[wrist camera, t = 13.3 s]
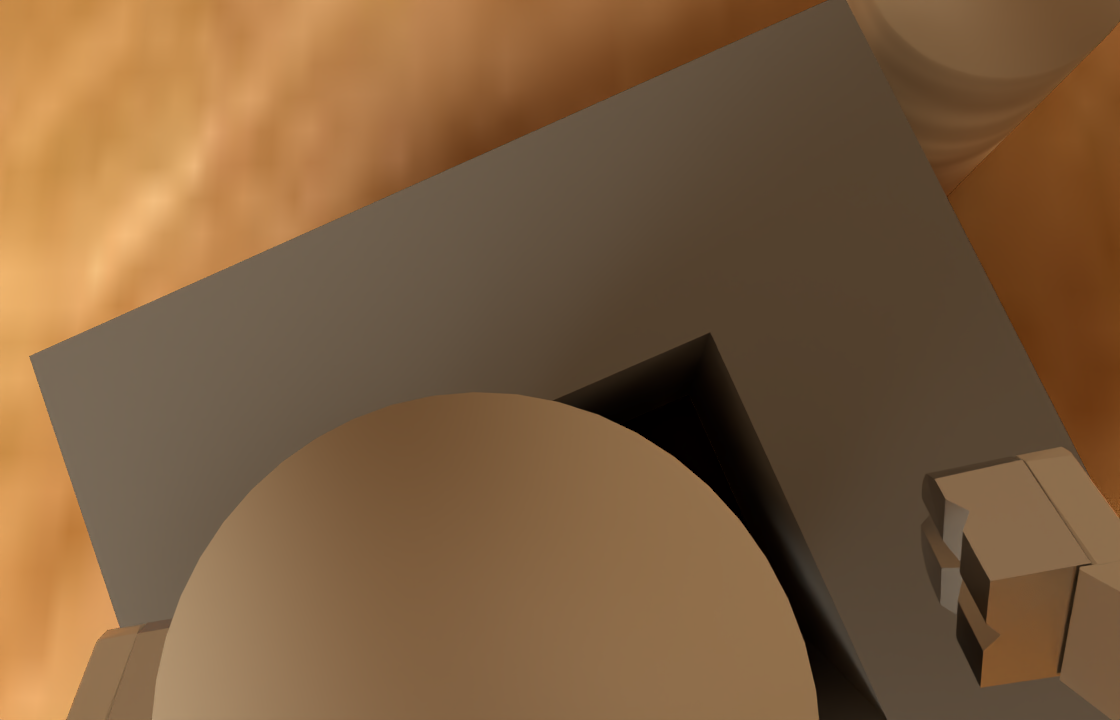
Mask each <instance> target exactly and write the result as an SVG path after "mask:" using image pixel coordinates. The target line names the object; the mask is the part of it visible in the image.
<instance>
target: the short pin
mask: <svg viewBox="0 0 1120 720" xmlns="http://www.w3.org/2000/svg"><path fill="white" fill-rule="evenodd" d="M846 1H847V3H848V5H849V7H850V9H851V11H852V13H853V14H854V16H855V18H856V20H857V22H858V24H859V26H860V28H861V30H862V32H863V34H864V36H865V38H866V40H867V42H868V44H869V46H870V48H871V50H872V52H873V54H874V56H875V58H876V59H877V61H878V63H879V65H880V67H881V69H882V71H883V73H884V75H885V77H886V79H887V81H888V83H889V85H890V87H891V89H892V91H893V93H894V95H895V97H896V99H897V101H898V103H899V104H900V106H901V108H902V110H903V112H904V114H905V116H906V118H907V120H908V122H909V124H910V126H911V128H912V130H913V132H914V134H915V136H916V138H917V140H918V142H919V144H920V146H921V148H922V149H923V151H924V153H925V155H926V157H927V159H928V161H929V163H930V165H931V167H932V169H933V171H934V173H935V175H936V177H937V179H938V181H939V183H940V185H941V187H942V189H943V191H944V193H945V194H946V196H948V195H949V194H950V193H951V192H952V191H953V190H954V189H955V188H956V187H957V186H958V185H959V184H960V183H961V182H962V181H963V180H964V179H965V178H966V177H967V176H968V175H969V174H970V173H971V172H972V171H973V170H974V169H975V168H976V167H977V166H978V165H979V164H980V163H981V162H982V161H983V160H984V159H985V158H986V157H987V156H988V155H989V154H990V153H991V152H992V151H993V150H994V149H995V148H996V147H997V146H998V145H999V144H1000V143H1001V142H1002V141H1003V140H1004V139H1005V138H1006V137H1007V136H1008V135H1009V134H1010V133H1011V132H1012V131H1013V130H1014V129H1015V128H1016V127H1017V126H1018V125H1019V124H1020V123H1021V122H1022V121H1023V120H1024V119H1025V118H1026V117H1027V116H1028V115H1029V114H1030V113H1031V112H1032V111H1033V110H1034V109H1035V108H1036V107H1037V106H1038V105H1039V104H1040V103H1041V102H1042V101H1043V100H1044V99H1045V98H1046V97H1047V96H1048V95H1049V94H1050V93H1051V92H1052V91H1053V90H1054V89H1055V88H1056V87H1057V86H1058V85H1059V84H1060V83H1061V82H1062V81H1063V80H1064V79H1065V78H1066V77H1067V75H1068V74H1069V73H1070V72H1071V71H1072V70H1073V69H1074V68H1075V67H1076V66H1077V65H1078V64H1079V63H1080V62H1081V61H1082V60H1083V59H1084V58H1085V57H1086V56H1087V55H1088V54H1089V53H1090V52H1091V51H1092V50H1093V49H1094V48H1095V47H1096V46H1097V45H1098V44H1099V43H1100V42H1101V41H1102V40H1103V39H1104V38H1105V37H1106V36H1107V35H1108V34H1109V33H1110V32H1111V31H1112V30H1113V29H1114V27H1115V26H1116V25H1117V24H1118V23H1119V21H1120V0H846Z"/></svg>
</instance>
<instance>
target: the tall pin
mask: <svg viewBox="0 0 1120 720" xmlns="http://www.w3.org/2000/svg"><path fill="white" fill-rule="evenodd" d="M152 720H819V714H818V705H817V695H816V688H815V684H814V680H813V676H812V671H811V667H810V663H809V659H808V654H807V650H806V646H805V642H804V640H803V637H802V634H801V632H800V629H799V626H798V624H797V621H796V619H795V616H794V613H793V611H792V608H791V605H790V603H789V600H788V598H787V596H786V594H785V592H784V590H783V588H782V586H781V585H780V583H779V581H778V579H777V577H776V575H775V573H774V571H773V569H772V567H771V566H770V564H769V562H768V560H767V558H766V556H765V555H764V554H763V552H762V551H761V549H760V548H759V547H758V545H757V544H756V542H755V541H754V539H753V538H752V537H751V535H750V534H749V532H748V531H747V529H746V528H745V527H744V525H743V524H742V522H741V521H740V520H739V519H738V517H737V516H736V515H735V514H734V513H733V512H732V511H731V510H730V509H729V508H728V506H727V505H726V504H725V503H724V502H723V501H722V500H721V499H720V498H719V497H718V496H717V494H716V493H715V492H714V491H713V490H712V489H711V488H710V487H709V486H708V485H707V484H706V483H705V482H703V481H702V480H701V479H700V478H699V477H697V476H696V475H695V474H694V473H693V472H692V471H690V470H689V469H688V468H687V467H686V466H684V465H683V464H682V463H681V462H680V461H679V460H677V459H676V458H675V457H674V456H672V455H670V454H669V453H667V452H666V451H664V450H663V449H661V448H660V447H658V446H656V445H655V444H653V443H652V442H650V441H649V440H647V439H646V438H644V437H643V436H641V435H639V434H638V433H636V432H634V431H632V430H630V429H627V428H625V427H623V426H621V425H619V424H617V423H615V422H613V421H610V420H608V419H606V418H604V417H602V416H600V415H598V414H594V413H591V412H588V411H585V410H582V409H579V408H576V407H573V406H569V405H566V404H563V403H560V402H557V401H551V400H546V399H540V398H534V397H529V396H523V395H518V394H502V393H480V392H471V393H459V394H448V395H436V396H429V397H425V398H420V399H416V400H411V401H407V402H402V403H398V404H393V405H390V406H387V407H385V408H382V409H379V410H376V411H374V412H371V413H368V414H366V415H363V416H360V417H357V418H355V419H352V420H350V421H348V422H346V423H345V424H343V425H341V426H339V427H337V428H335V429H333V430H331V431H329V432H327V433H325V434H323V435H321V436H320V437H318V438H316V439H314V440H313V441H312V442H310V443H309V444H307V445H306V446H304V447H303V448H302V449H300V450H299V451H297V452H296V453H294V454H293V455H291V456H290V457H289V458H287V459H286V460H284V461H283V462H282V463H281V464H279V465H278V466H277V467H276V468H275V469H274V470H273V471H272V472H271V473H269V474H268V475H267V476H266V477H265V478H264V479H263V480H262V481H261V482H260V483H258V484H257V485H256V486H255V487H254V488H253V489H252V490H251V491H250V492H249V493H248V494H247V495H246V497H245V498H244V499H243V500H242V501H241V502H240V504H239V505H238V506H237V507H236V508H235V509H234V511H233V512H232V513H231V514H230V515H229V516H228V518H227V519H226V520H225V521H224V522H223V524H222V525H221V527H220V528H219V530H218V531H217V533H216V534H215V536H214V537H213V539H212V540H211V542H210V543H209V545H208V546H207V548H206V549H205V551H204V552H203V554H202V555H201V557H200V559H199V561H198V563H197V565H196V567H195V569H194V571H193V573H192V575H191V577H190V579H189V581H188V583H187V585H186V587H185V589H184V590H183V592H182V594H181V597H180V599H179V602H178V605H177V608H176V611H175V613H174V616H173V619H172V622H171V624H170V627H169V630H168V633H167V636H166V639H165V644H164V648H163V652H162V657H161V661H160V665H159V670H158V674H157V679H156V686H155V696H154V705H153V715H152Z"/></svg>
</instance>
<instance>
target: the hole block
mask: <svg viewBox="0 0 1120 720" xmlns="http://www.w3.org/2000/svg"><path fill="white" fill-rule="evenodd" d="M29 357H30V360H31V363H32V366H33V369H34V372H35V375H36V378H37V381H38V384H39V387H40V390H41V393H42V396H43V399H44V402H45V405H46V408H47V411H48V414H49V417H50V420H51V423H52V426H53V429H54V432H55V435H56V438H57V441H58V444H59V446H60V449H61V452H62V455H63V458H64V461H65V464H66V467H67V470H68V473H69V476H70V479H71V482H72V485H73V488H74V491H75V494H76V497H77V500H78V503H79V506H80V509H81V512H82V515H83V518H84V521H85V524H86V527H87V530H88V533H89V536H90V539H91V542H92V545H93V548H94V551H95V554H96V557H97V560H98V563H99V566H100V569H101V572H102V575H103V578H104V581H105V584H106V587H107V590H108V593H109V596H110V599H111V602H112V605H113V608H114V611H115V614H116V617H117V620H118V623H119V626H120V628H122V627H128V626H134V625H140V624H146V623H148V622H154V621H160V620H166V619H172V618H173V616H174V613H175V611H176V608H177V605H178V602H179V599H180V597H181V594H182V592H183V590H184V589H185V587H186V585H187V583H188V581H189V579H190V577H191V575H192V573H193V571H194V569H195V567H196V565H197V563H198V561H199V559H200V557H201V555H202V554H203V552H204V551H205V549H206V548H207V546H208V545H209V543H210V542H211V540H212V539H213V537H214V536H215V534H216V533H217V531H218V530H219V528H220V527H221V525H222V524H223V522H224V521H225V520H226V519H227V518H228V516H229V515H230V514H231V513H232V512H233V511H234V509H235V508H236V507H237V506H238V505H239V504H240V502H241V501H242V500H243V499H244V498H245V497H246V495H247V494H248V493H249V492H250V491H251V490H252V489H253V488H254V487H255V486H256V485H257V484H258V483H260V482H261V481H262V480H263V479H264V478H265V477H266V476H267V475H268V474H269V473H271V472H272V471H273V470H274V469H275V468H276V467H277V466H278V465H279V464H281V463H282V462H283V461H284V460H286V459H287V458H289V457H290V456H291V455H293V454H294V453H296V452H297V451H299V450H300V449H302V448H303V447H304V446H306V445H307V444H309V443H310V442H312V441H313V440H314V439H316V438H318V437H320V436H321V435H323V434H325V433H327V432H329V431H331V430H333V429H335V428H337V427H339V426H341V425H343V424H345V423H346V422H348V421H350V420H352V419H355V418H357V417H360V416H363V415H366V414H368V413H371V412H374V411H376V410H379V409H382V408H385V407H387V406H390V405H393V404H398V403H402V402H407V401H411V400H416V399H420V398H425V397H429V396H436V395H448V394H459V393H471V392H480V393H502V394H518V395H523V396H529V397H534V398H540V399H546V400H551V401H557V402H560V403H563V404H566V405H569V406H573V407H576V408H579V409H582V410H585V411H588V412H591V413H594V414H598V415H600V416H602V417H604V418H606V419H608V420H610V421H613V422H615V423H617V424H621V423H624V422H626V421H628V420H631V419H633V418H635V417H638V416H640V415H642V414H645V413H647V412H649V411H652V410H654V409H656V408H658V407H661V406H663V405H665V404H668V403H670V402H672V401H675V400H677V399H679V398H682V397H684V396H686V395H689V396H690V399H691V401H692V403H693V405H694V407H695V410H696V412H697V414H698V416H699V419H700V421H701V423H702V425H703V428H704V430H705V432H706V434H707V436H708V439H709V441H710V443H711V445H712V448H713V450H714V452H715V454H716V457H717V459H718V461H719V463H720V466H721V468H722V470H723V472H724V474H725V477H726V479H727V481H728V483H729V486H730V488H731V490H732V492H733V495H734V497H735V499H736V501H737V503H738V506H739V508H740V510H741V512H742V515H743V517H744V519H745V521H746V524H747V526H748V528H749V530H750V532H751V535H752V537H753V539H754V541H755V542H756V544H757V545H758V547H759V548H760V549H761V551H762V552H763V554H764V555H765V556H766V558H767V560H768V562H769V564H770V566H771V567H772V569H773V571H774V573H775V575H776V577H777V579H778V581H779V583H780V585H781V586H782V588H783V590H784V592H785V594H786V596H787V598H788V600H789V603H790V605H791V608H792V611H793V613H794V616H795V619H796V621H797V624H798V626H799V629H800V632H801V634H802V637H803V640H804V642H805V646H806V650H807V654H808V659H809V663H810V667H811V671H812V676H813V680H814V684H815V688H816V695H817V705H818V714H819V720H1111V719H1110V718H1109V717H1107V716H1106V715H1105V714H1103V713H1102V712H1101V711H1099V710H1098V709H1097V708H1096V707H1094V706H1093V705H1092V704H1090V703H1089V702H1088V701H1086V700H1085V699H1084V698H1083V697H1081V696H1080V695H1079V694H1077V693H1076V692H1075V691H1073V690H1072V689H1071V688H1069V687H1068V686H1067V685H1066V684H1064V683H1063V682H1062V681H1060V676H1056V677H1049V678H1043V679H1036V680H1029V681H1023V682H1016V683H1009V684H1003V685H996V686H989V687H982V688H980V686H979V684H978V682H977V680H976V678H975V676H974V674H973V672H972V670H971V667H970V665H969V663H968V661H967V659H966V657H965V655H964V653H963V651H962V649H961V647H960V645H959V643H958V641H957V639H956V625H957V615H956V614H954V613H953V612H951V611H950V610H948V609H946V608H945V607H943V606H942V605H940V603H939V601H938V598H937V596H936V594H935V592H934V590H933V588H932V585H931V582H930V579H929V577H928V574H927V571H926V568H925V563H924V558H923V553H922V548H921V524H922V523H923V522H924V521H925V520H926V518H927V517H928V516H929V515H930V514H929V512H928V510H927V508H926V506H925V504H924V502H923V500H922V481H923V479H924V477H925V474H927V473H932V472H937V471H941V470H946V469H951V468H956V467H961V466H966V465H971V464H976V463H981V462H985V461H990V460H995V459H1000V458H1005V457H1010V456H1011V457H1015V456H1017V455H1022V454H1027V453H1032V452H1037V451H1042V450H1047V449H1052V448H1057V447H1063V448H1065V449H1067V450H1068V451H1070V452H1071V453H1072V454H1073V456H1074V457H1075V458H1076V460H1077V461H1078V462H1079V464H1080V465H1081V466H1082V468H1083V469H1084V471H1085V472H1086V473H1087V475H1088V476H1089V474H1088V472H1087V470H1086V468H1085V466H1084V464H1083V463H1082V461H1081V459H1080V457H1079V455H1078V453H1077V451H1076V449H1075V447H1074V445H1073V443H1072V441H1071V439H1070V437H1069V435H1068V433H1067V431H1066V429H1065V427H1064V425H1063V423H1062V421H1061V419H1060V418H1059V416H1058V414H1057V412H1056V410H1055V408H1054V406H1053V404H1052V402H1051V400H1050V398H1049V396H1048V394H1047V392H1046V390H1045V388H1044V386H1043V384H1042V382H1041V380H1040V378H1039V376H1038V374H1037V373H1036V371H1035V369H1034V367H1033V365H1032V363H1031V361H1030V359H1029V357H1028V355H1027V353H1026V351H1025V349H1024V347H1023V345H1022V343H1021V341H1020V339H1019V337H1018V335H1017V333H1016V331H1015V329H1014V328H1013V326H1012V324H1011V322H1010V320H1009V318H1008V316H1007V314H1006V312H1005V310H1004V308H1003V306H1002V304H1001V302H1000V300H999V298H998V296H997V294H996V292H995V290H994V288H993V286H992V284H991V283H990V281H989V279H988V277H987V275H986V273H985V271H984V269H983V267H982V265H981V263H980V261H979V259H978V257H977V255H976V253H975V251H974V249H973V247H972V245H971V243H970V241H969V239H968V238H967V236H966V234H965V232H964V230H963V228H962V226H961V224H960V222H959V220H958V218H957V216H956V214H955V212H954V210H953V208H952V206H951V204H950V202H949V200H948V198H947V196H946V194H945V193H944V191H943V189H942V187H941V185H940V183H939V181H938V179H937V177H936V175H935V173H934V171H933V169H932V167H931V165H930V163H929V161H928V159H927V157H926V155H925V153H924V151H923V149H922V148H921V146H920V144H919V142H918V140H917V138H916V136H915V134H914V132H913V130H912V128H911V126H910V124H909V122H908V120H907V118H906V116H905V114H904V112H903V110H902V108H901V106H900V104H899V103H898V101H897V99H896V97H895V95H894V93H893V91H892V89H891V87H890V85H889V83H888V81H887V79H886V77H885V75H884V73H883V71H882V69H881V67H880V65H879V63H878V61H877V59H876V58H875V56H874V54H873V52H872V50H871V48H870V46H869V44H868V42H867V40H866V38H865V36H864V34H863V32H862V30H861V28H860V26H859V24H858V22H857V20H856V18H855V16H854V14H853V13H852V11H851V9H850V7H849V5H848V3H847V1H846V0H827V1H825V2H823V3H820V4H818V5H816V6H814V7H812V8H809V9H807V10H805V11H803V12H800V13H798V14H796V15H794V16H791V17H789V18H787V19H785V20H782V21H780V22H778V23H776V24H773V25H771V26H769V27H767V28H764V29H762V30H760V31H758V32H755V33H753V34H751V35H749V36H746V37H744V38H742V39H740V40H737V41H735V42H733V43H731V44H729V45H726V46H724V47H722V48H720V49H717V50H715V51H713V52H711V53H708V54H706V55H704V56H702V57H699V58H697V59H695V60H693V61H690V62H688V63H686V64H684V65H681V66H679V67H677V68H675V69H672V70H670V71H668V72H666V73H663V74H661V75H659V76H657V77H655V78H652V79H650V80H648V81H646V82H643V83H641V84H639V85H637V86H634V87H632V88H630V89H628V90H625V91H623V92H621V93H619V94H616V95H614V96H612V97H610V98H607V99H605V100H603V101H601V102H598V103H596V104H594V105H592V106H589V107H587V108H585V109H583V110H581V111H578V112H576V113H574V114H572V115H569V116H567V117H565V118H563V119H560V120H558V121H556V122H554V123H551V124H549V125H547V126H545V127H542V128H540V129H538V130H536V131H533V132H531V133H529V134H527V135H524V136H522V137H520V138H518V139H515V140H513V141H511V142H509V143H507V144H504V145H502V146H500V147H498V148H495V149H493V150H491V151H489V152H486V153H484V154H482V155H480V156H477V157H475V158H473V159H471V160H468V161H466V162H464V163H462V164H459V165H457V166H455V167H453V168H450V169H448V170H446V171H444V172H441V173H439V174H437V175H435V176H432V177H430V178H428V179H426V180H424V181H421V182H419V183H417V184H415V185H412V186H410V187H408V188H406V189H403V190H401V191H399V192H397V193H394V194H392V195H390V196H388V197H385V198H383V199H381V200H379V201H376V202H374V203H372V204H370V205H367V206H365V207H363V208H361V209H358V210H356V211H354V212H352V213H350V214H347V215H345V216H343V217H341V218H338V219H336V220H334V221H332V222H329V223H327V224H325V225H323V226H320V227H318V228H316V229H314V230H311V231H309V232H307V233H305V234H302V235H300V236H298V237H296V238H293V239H291V240H289V241H287V242H284V243H282V244H280V245H278V246H276V247H273V248H271V249H269V250H267V251H264V252H262V253H260V254H258V255H255V256H253V257H251V258H249V259H246V260H244V261H242V262H240V263H237V264H235V265H233V266H231V267H228V268H226V269H224V270H222V271H219V272H217V273H215V274H213V275H210V276H208V277H206V278H204V279H202V280H199V281H197V282H195V283H193V284H190V285H188V286H186V287H184V288H181V289H179V290H177V291H175V292H172V293H170V294H168V295H166V296H163V297H161V298H159V299H157V300H154V301H152V302H150V303H148V304H145V305H143V306H141V307H139V308H136V309H134V310H132V311H130V312H127V313H125V314H123V315H121V316H119V317H116V318H114V319H112V320H110V321H107V322H105V323H103V324H101V325H98V326H96V327H94V328H92V329H89V330H87V331H85V332H83V333H80V334H78V335H76V336H74V337H71V338H69V339H67V340H65V341H62V342H60V343H58V344H56V345H53V346H51V347H49V348H47V349H45V350H42V351H40V352H38V353H36V354H33V355H31V356H29ZM1089 477H1090V476H1089ZM1090 479H1091V478H1090Z"/></svg>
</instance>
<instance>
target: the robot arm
mask: <svg viewBox="0 0 1120 720" xmlns="http://www.w3.org/2000/svg"><path fill="white" fill-rule="evenodd" d="M922 500H923V502H924V504H925V506H926V508H927V510H928V512H929V514H930V515H929V516H928V517H927V518H926V520H925V521H924V522H923V523H922V524H921V548H922V553H923V558H924V563H925V568H926V571H927V574H928V577H929V579H930V582H931V585H932V588H933V590H934V592H935V594H936V596H937V598H938V601H939V603H940V605H942V606H943V607H945V608H946V609H948V610H950V611H951V612H953V613H954V614H956V615H957V625H956V639H957V641H958V643H959V645H960V647H961V649H962V651H963V653H964V655H965V657H966V659H967V661H968V663H969V665H970V667H971V670H972V672H973V674H974V676H975V678H976V680H977V682H978V684H979V686H980V688H982V687H989V686H996V685H1003V684H1009V683H1016V682H1023V681H1029V680H1036V679H1043V678H1049V677H1056V676H1060V681H1062V682H1063V683H1064V684H1066V685H1067V686H1068V687H1069V688H1071V689H1072V690H1073V691H1075V692H1076V693H1077V694H1079V695H1080V696H1081V697H1083V698H1084V699H1085V700H1086V701H1088V702H1089V703H1090V704H1092V705H1093V706H1094V707H1096V708H1097V709H1098V710H1099V711H1101V712H1102V713H1103V714H1105V715H1106V716H1107V717H1109V718H1110V719H1111V720H1120V518H1119V517H1118V515H1117V514H1116V513H1115V511H1114V510H1113V508H1112V507H1111V506H1110V504H1109V503H1108V502H1107V500H1106V499H1105V498H1104V496H1103V495H1102V494H1101V492H1100V491H1099V489H1098V488H1097V487H1096V485H1095V484H1094V483H1093V481H1092V480H1091V479H1090V477H1089V476H1088V475H1087V473H1086V472H1085V471H1084V469H1083V468H1082V466H1081V465H1080V464H1079V462H1078V461H1077V460H1076V458H1075V457H1074V456H1073V454H1072V453H1071V452H1070V451H1068V450H1067V449H1065V448H1063V447H1057V448H1052V449H1047V450H1042V451H1037V452H1032V453H1027V454H1022V455H1017V456H1015V457H1011V456H1010V457H1005V458H1000V459H995V460H990V461H985V462H981V463H976V464H971V465H966V466H961V467H956V468H951V469H946V470H941V471H937V472H932V473H927V474H925V477H924V479H923V481H922ZM172 619H173V618H172ZM172 619H166V620H160V621H154V622H148V623H146V624H140V625H134V626H128V627H122V628H116V629H111V630H107V631H106V632H105V633H104V634H103V635H102V636H101V637H100V638H99V639H98V640H97V642H96V644H95V646H94V649H93V652H92V654H91V657H90V659H89V662H88V665H87V667H86V670H85V672H84V675H83V677H82V680H81V683H80V685H79V688H78V690H77V693H76V696H75V698H74V701H73V703H72V706H71V709H70V711H69V714H68V716H67V719H66V720H152V715H153V705H154V696H155V686H156V679H157V674H158V670H159V665H160V661H161V657H162V652H163V648H164V644H165V639H166V636H167V633H168V630H169V627H170V624H171V622H172Z"/></svg>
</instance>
